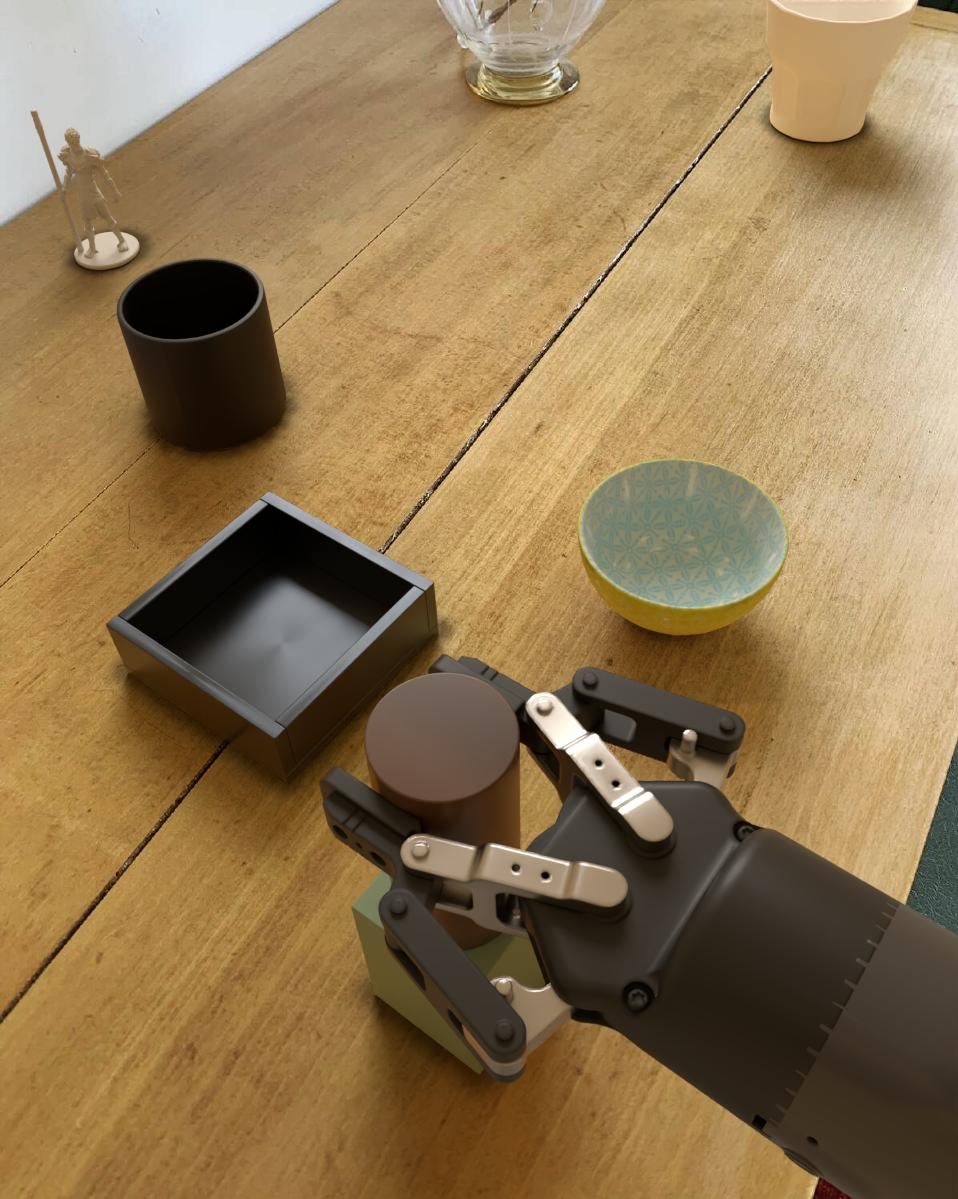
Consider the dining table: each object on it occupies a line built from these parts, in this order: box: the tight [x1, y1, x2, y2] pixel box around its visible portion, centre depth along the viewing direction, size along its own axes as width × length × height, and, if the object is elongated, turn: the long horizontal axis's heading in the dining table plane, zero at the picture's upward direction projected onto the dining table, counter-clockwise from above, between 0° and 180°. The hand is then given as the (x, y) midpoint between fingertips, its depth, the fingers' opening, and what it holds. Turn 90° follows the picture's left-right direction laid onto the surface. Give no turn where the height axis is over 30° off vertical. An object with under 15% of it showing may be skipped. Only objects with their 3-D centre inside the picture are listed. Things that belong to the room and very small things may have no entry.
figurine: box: [30, 108, 141, 271], centre depth 87 cm, size 5×5×12 cm
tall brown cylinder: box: [363, 673, 522, 951], centre depth 40 cm, size 5×5×11 cm
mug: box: [116, 257, 287, 452], centre depth 75 cm, size 9×12×9 cm
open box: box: [105, 490, 440, 785], centre depth 62 cm, size 13×13×4 cm
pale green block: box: [350, 848, 546, 1075], centre depth 47 cm, size 6×6×9 cm
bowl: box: [577, 458, 790, 636], centre depth 63 cm, size 11×12×6 cm
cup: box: [765, 0, 919, 143], centre depth 98 cm, size 12×12×11 cm
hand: (385, 730), depth 38 cm, fingers closed on tall brown cylinder, 5 cm apart
